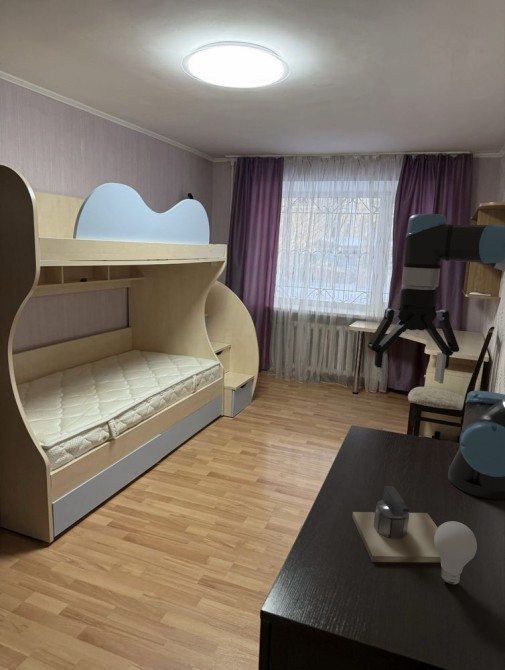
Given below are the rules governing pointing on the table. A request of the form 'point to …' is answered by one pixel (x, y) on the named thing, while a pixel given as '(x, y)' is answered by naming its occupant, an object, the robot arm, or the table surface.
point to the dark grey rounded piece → (391, 515)
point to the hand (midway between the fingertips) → (409, 381)
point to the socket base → (399, 540)
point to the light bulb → (454, 549)
